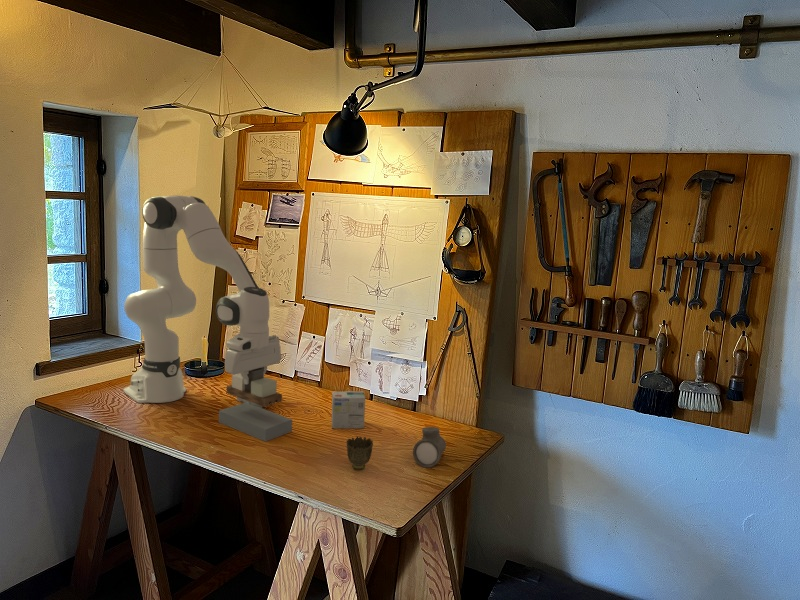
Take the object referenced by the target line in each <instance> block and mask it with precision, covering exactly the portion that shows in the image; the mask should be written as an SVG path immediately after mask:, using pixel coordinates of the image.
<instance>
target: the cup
mask: <svg viewBox="0 0 800 600" xmlns="http://www.w3.org/2000/svg"><path fill="white" fill-rule="evenodd" d="M373 445H374V441H373V440H371V438H369V437H368V438H366V437H362V436H356V438H355V437H352V438H348V439H347V440H346V453H347V458H348V461H349V462H350V464H351V467H352V469H353V470H355V471H363V470H364V469H365V468H366V465H367V463H369V462H370V460H371V457H372V452H373Z"/></svg>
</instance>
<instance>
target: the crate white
mask: <svg viewBox="0 0 800 600" xmlns="http://www.w3.org/2000/svg"><path fill="white" fill-rule="evenodd" d="M231 385H232V387H233V388H236V389H238V390H241V391H243V390H245V384H244V378H243V377H242V375H241V373H239V374H235V375H233V374H231Z"/></svg>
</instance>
